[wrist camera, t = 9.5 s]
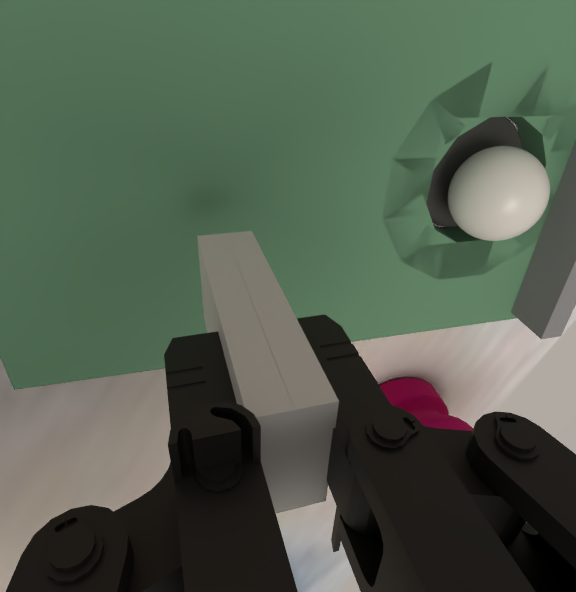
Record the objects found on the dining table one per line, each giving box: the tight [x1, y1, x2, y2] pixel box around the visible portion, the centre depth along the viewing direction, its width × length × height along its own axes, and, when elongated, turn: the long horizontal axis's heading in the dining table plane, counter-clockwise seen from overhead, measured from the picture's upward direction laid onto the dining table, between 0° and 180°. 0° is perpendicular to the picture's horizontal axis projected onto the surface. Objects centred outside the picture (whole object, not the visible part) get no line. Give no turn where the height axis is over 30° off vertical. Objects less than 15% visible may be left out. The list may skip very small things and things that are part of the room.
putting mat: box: [0, 0, 576, 390], centre depth 18 cm, size 28×16×4 cm, turn 88°
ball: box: [448, 146, 550, 241], centre depth 20 cm, size 4×4×4 cm
